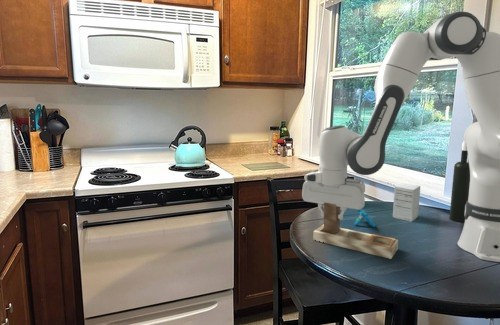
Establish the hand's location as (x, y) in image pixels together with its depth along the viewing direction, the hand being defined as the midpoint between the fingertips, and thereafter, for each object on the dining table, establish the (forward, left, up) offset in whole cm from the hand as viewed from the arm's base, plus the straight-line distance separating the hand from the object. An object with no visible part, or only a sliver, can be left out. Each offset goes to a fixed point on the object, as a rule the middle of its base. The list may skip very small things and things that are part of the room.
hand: (331, 217), depth 113 cm
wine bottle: (-33, -44, -8) cm, 55 cm away
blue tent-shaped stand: (-5, -19, -8) cm, 21 cm away
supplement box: (-16, -36, -8) cm, 40 cm away
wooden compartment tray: (-8, 0, -7) cm, 11 cm away
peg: (0, 0, -5) cm, 5 cm away
